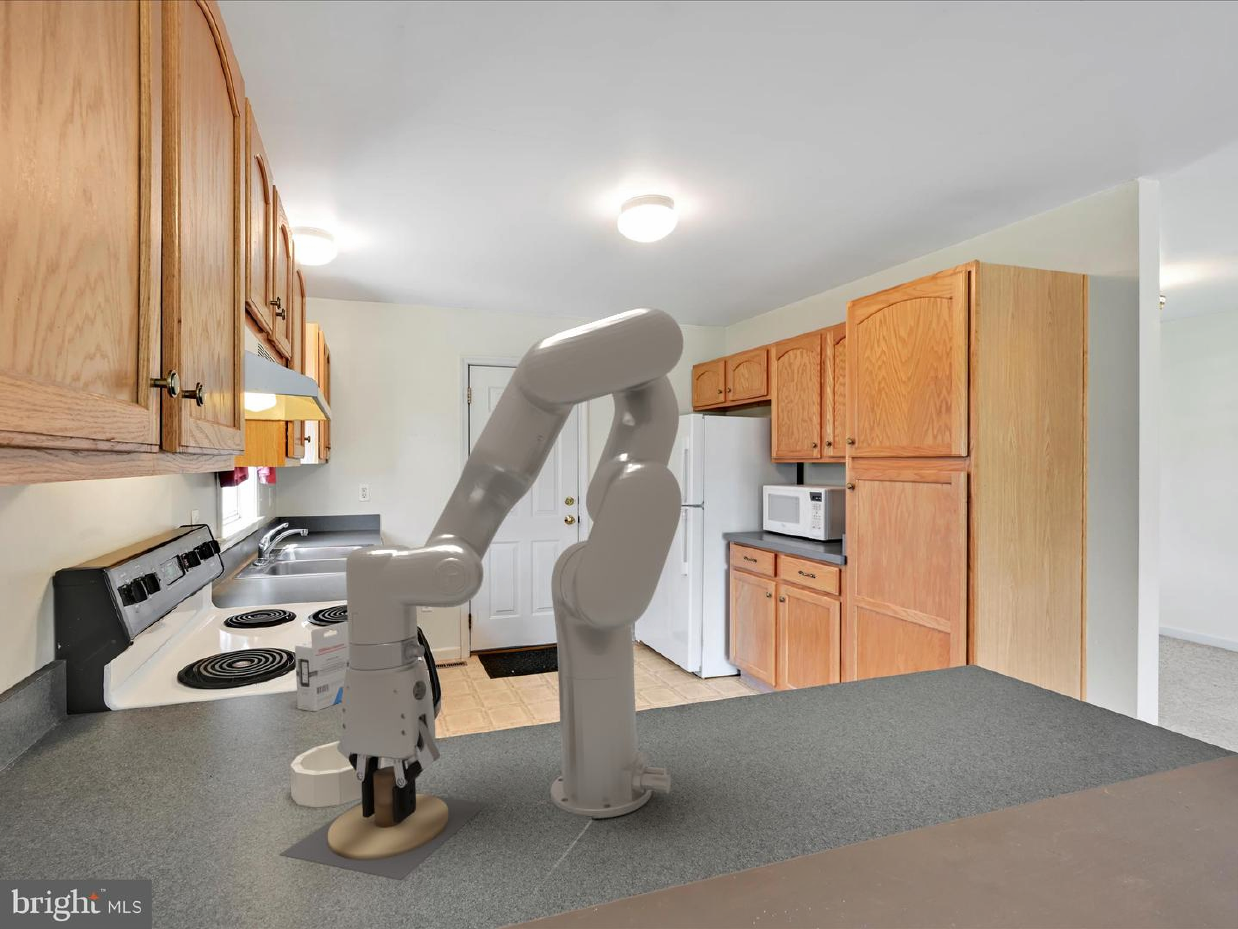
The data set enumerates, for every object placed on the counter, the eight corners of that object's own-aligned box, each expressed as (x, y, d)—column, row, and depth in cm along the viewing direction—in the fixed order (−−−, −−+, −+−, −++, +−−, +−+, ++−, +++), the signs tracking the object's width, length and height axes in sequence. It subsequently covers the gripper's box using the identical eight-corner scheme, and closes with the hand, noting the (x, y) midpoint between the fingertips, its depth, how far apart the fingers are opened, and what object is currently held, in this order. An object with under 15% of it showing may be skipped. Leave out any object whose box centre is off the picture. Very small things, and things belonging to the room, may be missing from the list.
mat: (488, 808, 81) (488, 803, 81) (401, 885, 66) (401, 879, 66) (381, 792, 86) (381, 788, 86) (279, 860, 71) (279, 854, 71)
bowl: (401, 777, 91) (400, 744, 91) (341, 816, 80) (340, 778, 81) (337, 768, 95) (336, 736, 95) (273, 804, 84) (271, 768, 84)
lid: (470, 808, 80) (468, 755, 80) (399, 868, 68) (397, 806, 68) (382, 794, 84) (380, 744, 85) (301, 849, 72) (299, 790, 72)
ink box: (335, 695, 129) (332, 619, 130) (353, 698, 127) (350, 620, 127) (295, 709, 122) (293, 628, 122) (314, 712, 119) (311, 630, 120)
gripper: (463, 648, 77) (469, 808, 77) (350, 642, 83) (355, 791, 83) (423, 666, 70) (429, 842, 70) (302, 658, 76) (307, 821, 75)
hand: (389, 813), depth 76 cm, fingers open, 3 cm apart
